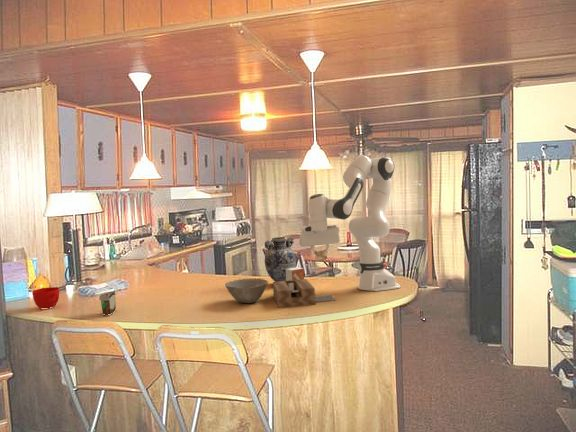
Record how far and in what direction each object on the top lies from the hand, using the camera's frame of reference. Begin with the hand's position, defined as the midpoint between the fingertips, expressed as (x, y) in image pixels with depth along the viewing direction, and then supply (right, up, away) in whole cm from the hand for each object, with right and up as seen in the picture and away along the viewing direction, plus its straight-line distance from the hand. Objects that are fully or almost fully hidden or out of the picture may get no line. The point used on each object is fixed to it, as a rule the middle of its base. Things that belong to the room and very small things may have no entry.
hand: (320, 253), depth 250 cm
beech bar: (0, -3, -1) cm, 3 cm away
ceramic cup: (-144, -31, +15) cm, 148 cm away
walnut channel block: (-14, -24, +2) cm, 28 cm away
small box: (-12, -23, +22) cm, 34 cm away
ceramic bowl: (-37, -25, +5) cm, 45 cm away
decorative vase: (-20, -22, +44) cm, 53 cm away
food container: (-106, -30, -4) cm, 111 cm away
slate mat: (+2, -23, +1) cm, 23 cm away
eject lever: (-14, -20, +2) cm, 25 cm away
